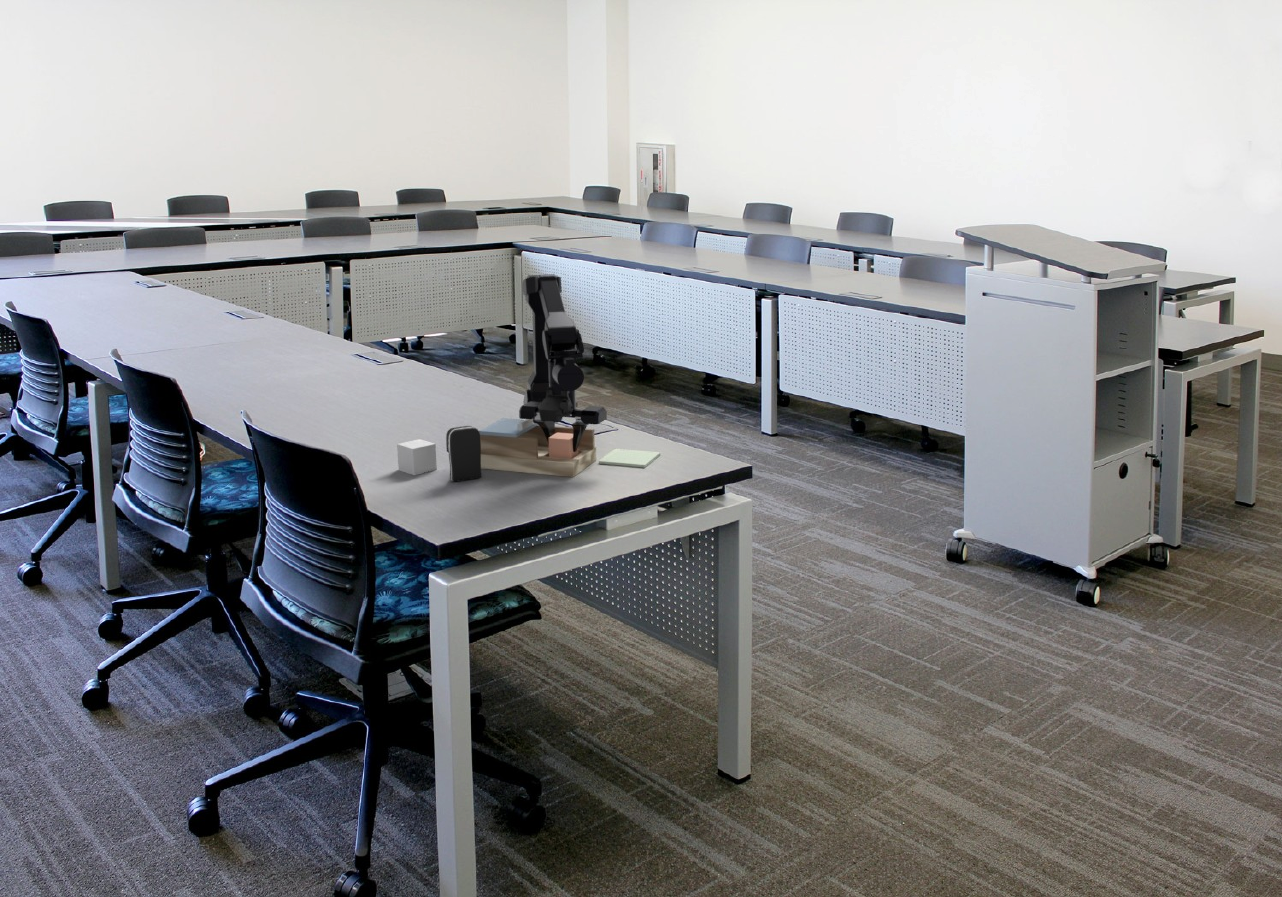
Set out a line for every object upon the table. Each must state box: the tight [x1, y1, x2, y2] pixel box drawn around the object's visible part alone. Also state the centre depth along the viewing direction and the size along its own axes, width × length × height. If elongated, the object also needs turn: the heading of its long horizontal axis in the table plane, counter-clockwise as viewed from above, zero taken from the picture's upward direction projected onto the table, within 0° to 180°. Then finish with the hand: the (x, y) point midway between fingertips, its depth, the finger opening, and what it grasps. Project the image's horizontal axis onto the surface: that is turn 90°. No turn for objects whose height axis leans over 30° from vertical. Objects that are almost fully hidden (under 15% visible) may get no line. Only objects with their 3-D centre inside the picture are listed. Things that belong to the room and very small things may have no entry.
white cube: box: [396, 438, 438, 476], centre depth 258 cm, size 6×6×6 cm
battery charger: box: [445, 425, 482, 482], centre depth 251 cm, size 7×4×11 cm, turn 120°
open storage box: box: [480, 425, 597, 478], centre depth 262 cm, size 14×24×8 cm, turn 71°
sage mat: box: [598, 448, 661, 469], centre depth 266 cm, size 11×11×1 cm
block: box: [549, 432, 578, 459], centre depth 260 cm, size 5×5×7 cm
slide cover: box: [479, 417, 538, 437], centre depth 263 cm, size 12×9×2 cm
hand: (563, 450), depth 260 cm, fingers closed on block, 5 cm apart
